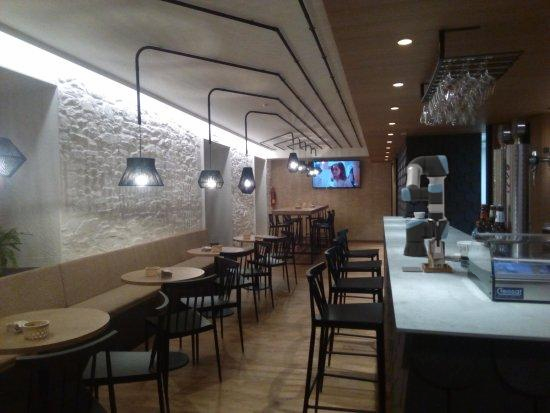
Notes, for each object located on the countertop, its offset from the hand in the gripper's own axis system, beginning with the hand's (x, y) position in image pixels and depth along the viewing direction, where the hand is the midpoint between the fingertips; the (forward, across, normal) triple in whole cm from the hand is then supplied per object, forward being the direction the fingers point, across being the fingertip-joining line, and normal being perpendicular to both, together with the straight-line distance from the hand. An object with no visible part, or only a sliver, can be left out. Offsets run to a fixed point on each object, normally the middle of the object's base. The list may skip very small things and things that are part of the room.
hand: (436, 250), depth 233 cm
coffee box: (+11, 0, 0) cm, 11 cm away
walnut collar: (+11, 0, 0) cm, 11 cm away
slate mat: (+11, 0, -13) cm, 17 cm away
